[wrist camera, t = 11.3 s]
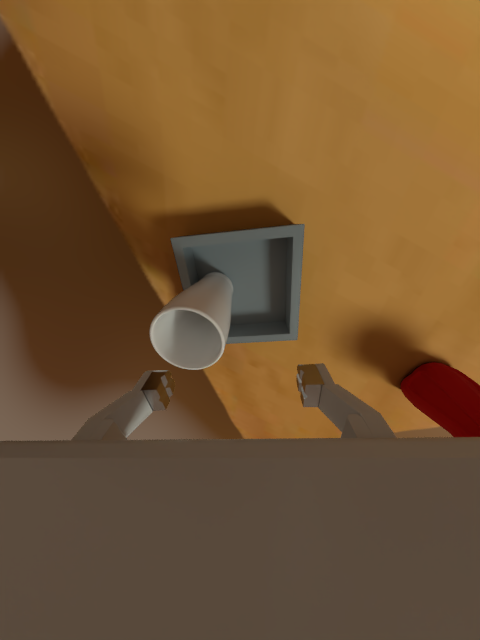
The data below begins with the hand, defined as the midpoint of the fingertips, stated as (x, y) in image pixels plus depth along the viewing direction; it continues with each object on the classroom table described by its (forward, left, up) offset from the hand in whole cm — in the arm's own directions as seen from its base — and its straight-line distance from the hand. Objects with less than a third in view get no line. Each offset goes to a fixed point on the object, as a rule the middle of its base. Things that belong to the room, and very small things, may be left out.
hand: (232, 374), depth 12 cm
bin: (0, 0, -20) cm, 20 cm away
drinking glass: (0, -4, -19) cm, 20 cm away
